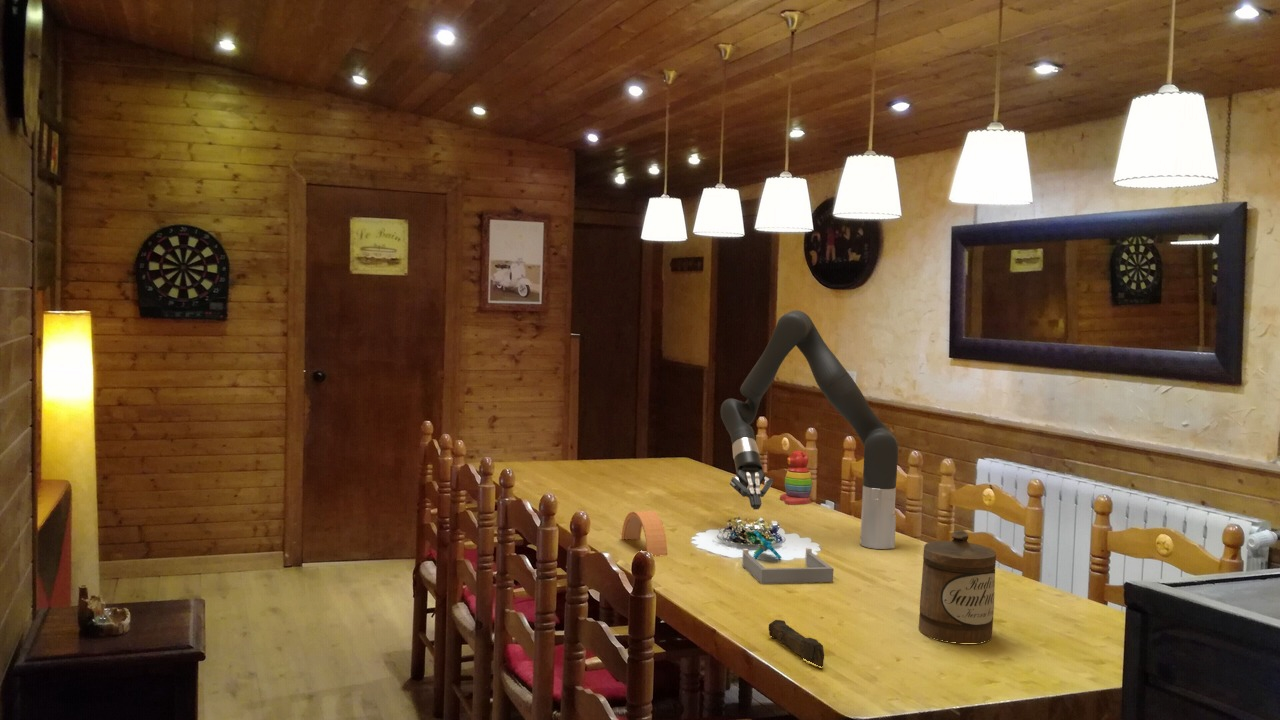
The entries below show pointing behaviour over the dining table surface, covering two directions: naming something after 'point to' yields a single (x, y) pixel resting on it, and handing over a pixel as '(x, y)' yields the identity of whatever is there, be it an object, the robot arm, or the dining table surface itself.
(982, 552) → the wooden container
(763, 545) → the teal crossed bars
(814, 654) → the dark brown rough bar
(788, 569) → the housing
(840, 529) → the dining table surface
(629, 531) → the arch
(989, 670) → the dining table surface
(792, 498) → the stacking bear
